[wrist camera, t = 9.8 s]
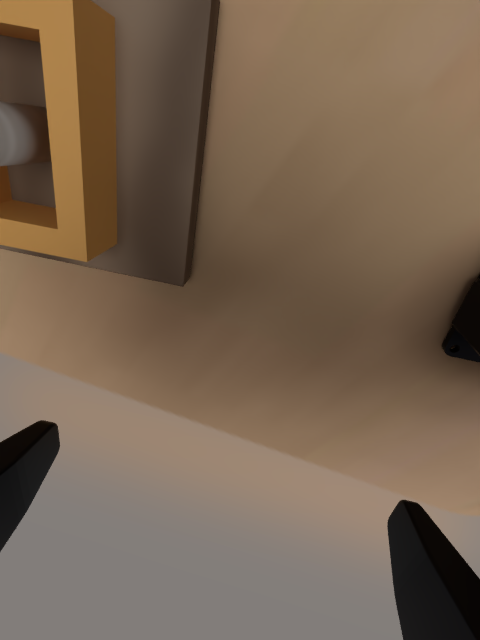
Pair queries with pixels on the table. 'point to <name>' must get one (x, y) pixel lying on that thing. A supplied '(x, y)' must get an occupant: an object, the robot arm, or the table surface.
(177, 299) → the table surface
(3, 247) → the keeper board
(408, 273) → the table surface
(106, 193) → the tan rectangular frame
